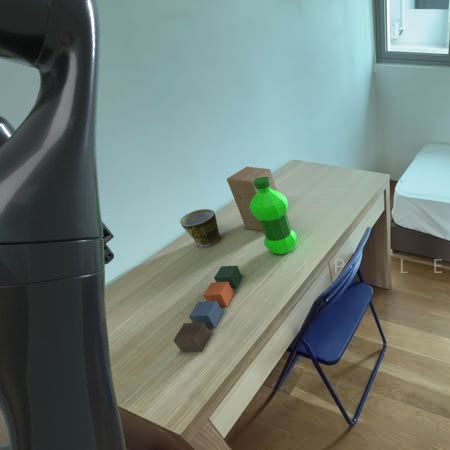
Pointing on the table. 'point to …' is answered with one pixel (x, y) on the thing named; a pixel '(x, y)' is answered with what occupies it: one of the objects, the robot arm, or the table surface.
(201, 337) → the block
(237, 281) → the block
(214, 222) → the ceramic cup
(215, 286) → the block
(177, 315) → the table surface
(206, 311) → the block
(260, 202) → the plastic bottle
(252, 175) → the wooden block
